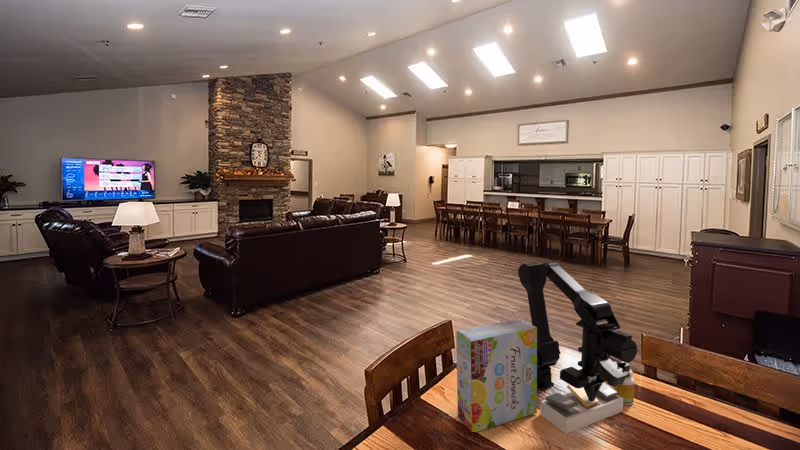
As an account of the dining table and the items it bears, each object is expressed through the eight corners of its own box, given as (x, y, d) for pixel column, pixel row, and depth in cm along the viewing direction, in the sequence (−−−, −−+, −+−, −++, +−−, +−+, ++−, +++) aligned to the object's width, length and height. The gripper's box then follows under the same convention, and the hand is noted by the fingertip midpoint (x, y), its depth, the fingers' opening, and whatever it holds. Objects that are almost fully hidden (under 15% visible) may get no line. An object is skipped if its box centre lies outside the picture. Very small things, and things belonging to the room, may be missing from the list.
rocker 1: (545, 400, 104) (545, 396, 104) (557, 396, 106) (557, 392, 106) (566, 409, 98) (565, 405, 98) (578, 405, 99) (577, 401, 99)
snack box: (517, 398, 113) (519, 316, 110) (537, 414, 105) (540, 327, 102) (455, 415, 105) (455, 328, 102) (471, 435, 97) (472, 341, 94)
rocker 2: (585, 382, 110) (585, 379, 110) (595, 379, 112) (596, 376, 112) (606, 398, 104) (606, 395, 104) (616, 395, 106) (617, 391, 106)
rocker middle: (566, 386, 107) (568, 384, 107) (577, 383, 109) (579, 380, 108) (586, 407, 101) (587, 404, 101) (597, 403, 103) (598, 400, 103)
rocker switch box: (540, 414, 105) (540, 400, 105) (594, 395, 114) (595, 382, 114) (566, 433, 97) (566, 419, 97) (622, 411, 106) (623, 397, 105)
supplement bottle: (636, 406, 108) (638, 375, 107) (616, 404, 109) (618, 373, 108) (629, 396, 113) (631, 366, 112) (609, 394, 114) (611, 364, 113)
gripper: (596, 366, 89) (593, 427, 91) (646, 351, 97) (642, 407, 99) (559, 348, 100) (557, 403, 101) (607, 335, 107) (604, 386, 109)
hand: (591, 400), depth 102 cm, fingers closed, pressing on rocker middle
